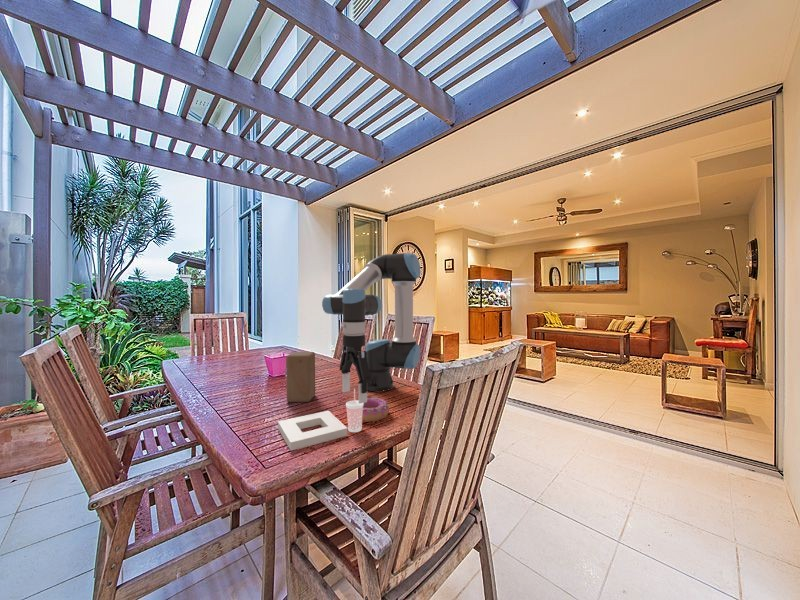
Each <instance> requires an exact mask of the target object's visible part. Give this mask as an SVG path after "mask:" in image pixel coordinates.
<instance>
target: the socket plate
mask: <svg viewBox="0 0 800 600" xmlns="http://www.w3.org/2000/svg"><path fill="white" fill-rule="evenodd" d="M317 426H321V427H319V428H315V429H313V430H312V429H311V430H307V431H302V429H306V428H311V427H317ZM277 430H278V431H279V433H280V435H281V437H282V438H283V440H284V441H285V443H286V445H287V447H288V449H289V451H295V450H299V449H303V448H307V447H310V446H313V445H317V444H321V443H326V442H330V441H333V440H336V439H340V438H344V437H348V426H346V425H345V424H343V422H341V421H340V420H339V419H338V418H337V417H336V416H335V415H334V414H333V413H332V412H331V411H330V410H324V411H320V412H319V411H318V412H314V413H309V414H306V415H302V416H296V417H292V418H288V419H282V420H278V421H277Z"/></svg>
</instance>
